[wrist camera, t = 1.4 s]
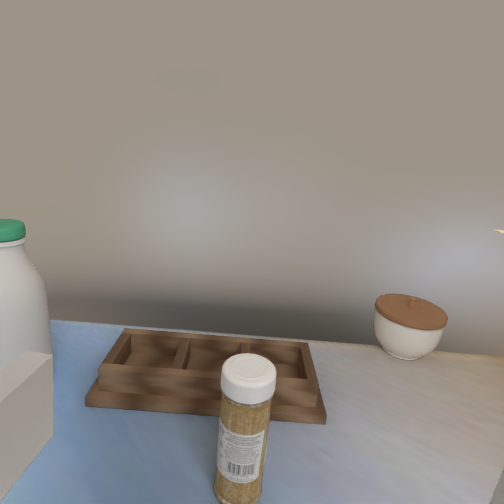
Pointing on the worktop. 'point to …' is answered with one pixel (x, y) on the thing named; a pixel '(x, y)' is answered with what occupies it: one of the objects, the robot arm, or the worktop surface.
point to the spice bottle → (243, 427)
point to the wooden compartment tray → (201, 375)
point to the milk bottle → (20, 298)
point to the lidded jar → (408, 325)
